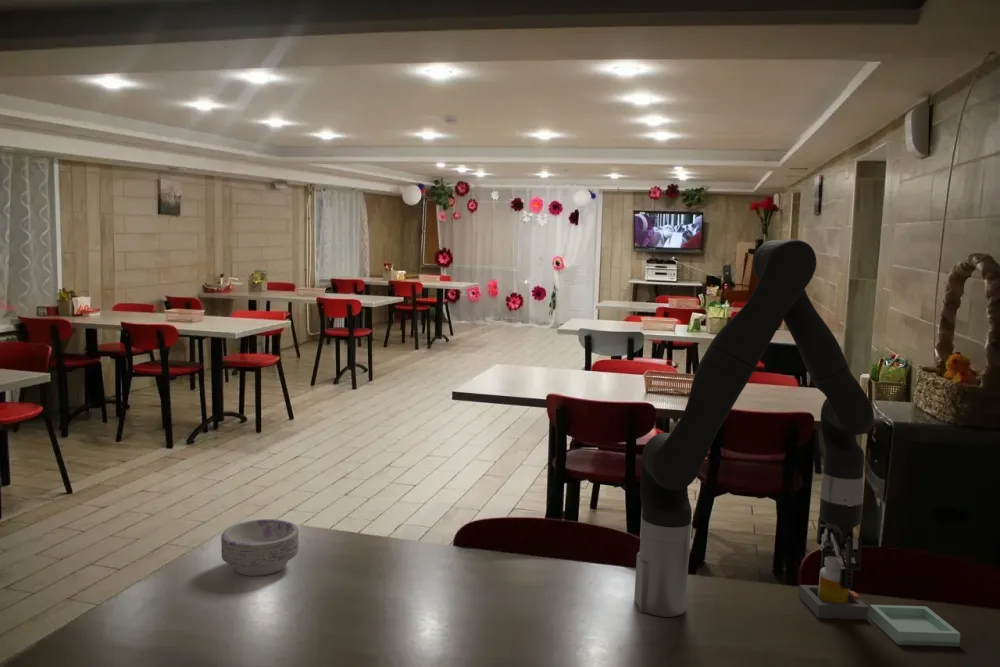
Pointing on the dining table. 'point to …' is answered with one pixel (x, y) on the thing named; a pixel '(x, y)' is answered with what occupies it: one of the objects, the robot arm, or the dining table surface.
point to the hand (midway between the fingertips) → (836, 578)
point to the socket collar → (833, 605)
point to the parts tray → (914, 625)
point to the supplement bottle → (831, 582)
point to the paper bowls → (259, 546)
